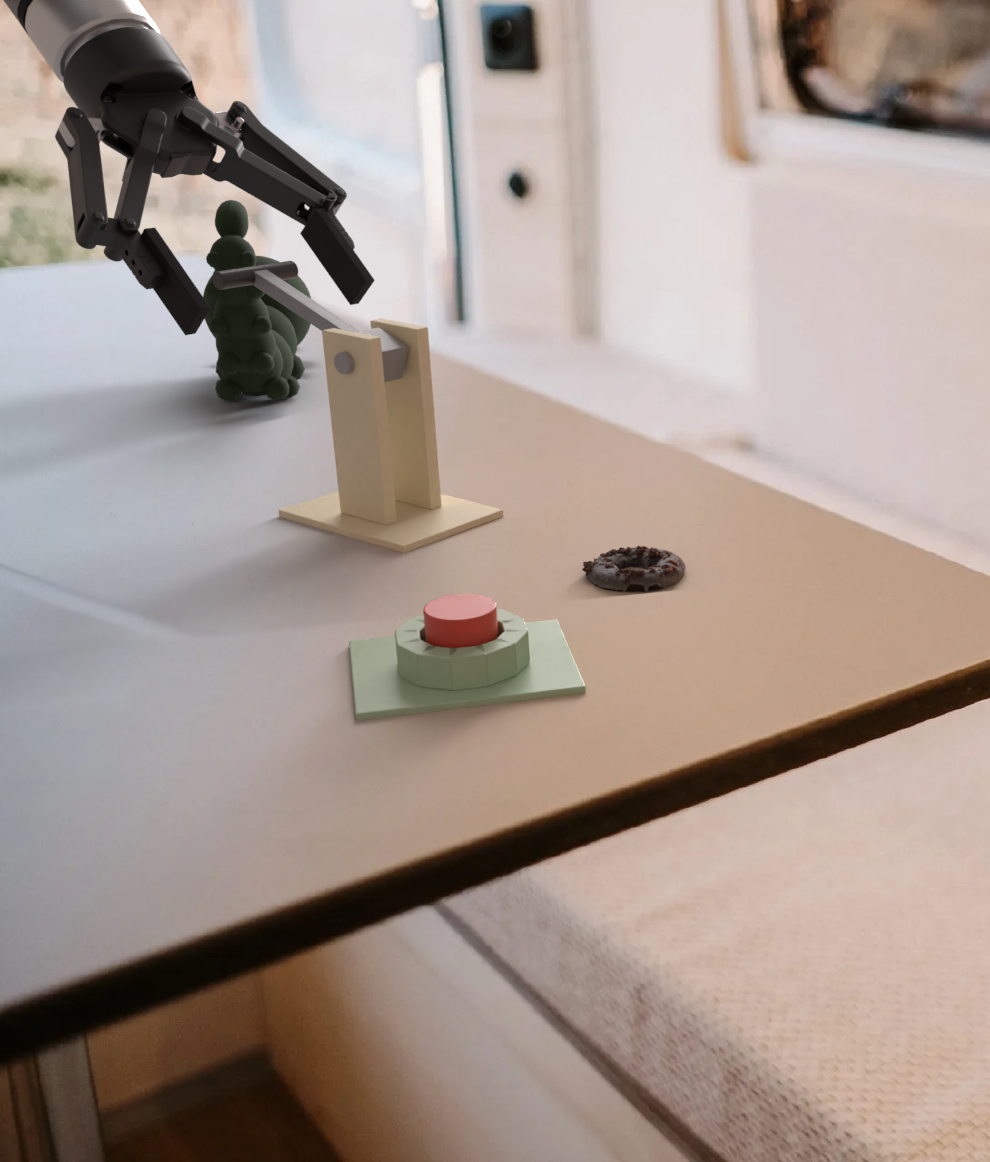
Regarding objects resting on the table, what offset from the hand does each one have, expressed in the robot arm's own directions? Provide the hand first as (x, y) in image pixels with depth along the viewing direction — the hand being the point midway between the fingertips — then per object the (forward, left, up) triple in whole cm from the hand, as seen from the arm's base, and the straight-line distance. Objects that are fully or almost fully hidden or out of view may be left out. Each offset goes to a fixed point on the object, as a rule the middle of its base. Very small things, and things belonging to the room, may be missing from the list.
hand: (285, 307), depth 99 cm
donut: (+19, -22, -14) cm, 33 cm away
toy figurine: (-4, +35, -14) cm, 38 cm away
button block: (+7, -35, -14) cm, 39 cm away
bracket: (+5, -7, -14) cm, 17 cm away
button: (+7, -35, -11) cm, 38 cm away
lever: (+2, -2, -1) cm, 3 cm away
